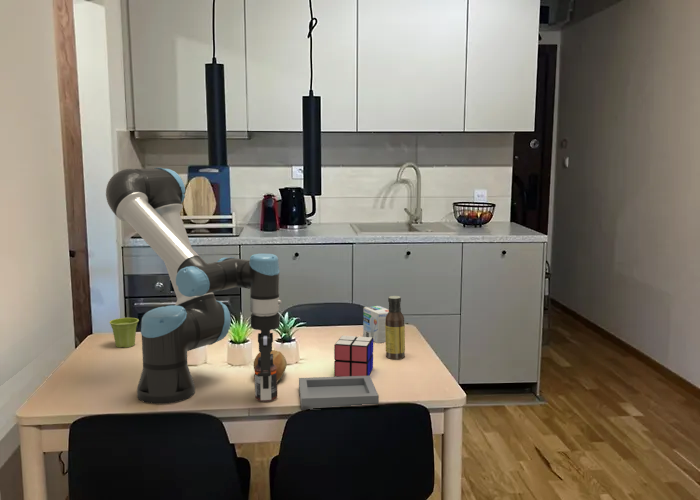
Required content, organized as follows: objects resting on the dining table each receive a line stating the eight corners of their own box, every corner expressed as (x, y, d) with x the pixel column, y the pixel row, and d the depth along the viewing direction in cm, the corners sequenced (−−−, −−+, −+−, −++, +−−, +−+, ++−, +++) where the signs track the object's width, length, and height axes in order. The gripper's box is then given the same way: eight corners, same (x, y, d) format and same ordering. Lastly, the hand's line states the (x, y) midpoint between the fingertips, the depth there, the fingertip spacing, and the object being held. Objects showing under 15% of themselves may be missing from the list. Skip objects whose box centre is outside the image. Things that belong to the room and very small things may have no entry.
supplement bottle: (265, 393, 184) (264, 353, 183) (282, 397, 181) (281, 356, 179) (250, 399, 179) (249, 358, 178) (267, 404, 176) (266, 362, 174)
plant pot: (105, 345, 228) (104, 320, 227) (130, 340, 235) (129, 316, 234) (119, 351, 222) (118, 325, 221) (145, 345, 229) (144, 320, 228)
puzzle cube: (367, 379, 196) (367, 346, 195) (334, 377, 198) (334, 344, 197) (373, 368, 206) (373, 337, 204) (341, 366, 208) (341, 335, 206)
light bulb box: (362, 336, 242) (362, 307, 240) (378, 334, 245) (378, 305, 243) (377, 343, 233) (377, 313, 231) (394, 341, 236) (394, 311, 234)
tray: (301, 409, 172) (301, 398, 172) (298, 388, 188) (298, 377, 188) (378, 406, 175) (378, 395, 174) (369, 385, 190) (369, 375, 190)
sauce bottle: (399, 353, 221) (400, 294, 219) (408, 358, 216) (409, 297, 213) (381, 355, 219) (382, 295, 216) (390, 361, 213) (391, 299, 210)
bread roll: (252, 387, 189) (252, 359, 188) (254, 370, 204) (254, 344, 203) (286, 386, 190) (286, 358, 189) (286, 369, 205) (286, 343, 204)
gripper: (280, 324, 165) (280, 407, 168) (278, 302, 190) (279, 374, 193) (249, 325, 164) (250, 408, 167) (252, 302, 189) (253, 375, 192)
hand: (266, 390), depth 180 cm, fingers open, 13 cm apart
